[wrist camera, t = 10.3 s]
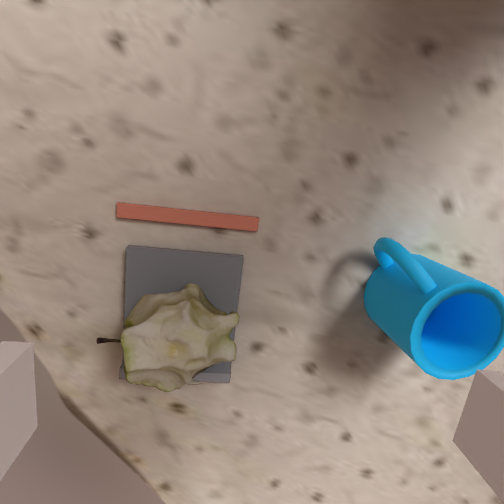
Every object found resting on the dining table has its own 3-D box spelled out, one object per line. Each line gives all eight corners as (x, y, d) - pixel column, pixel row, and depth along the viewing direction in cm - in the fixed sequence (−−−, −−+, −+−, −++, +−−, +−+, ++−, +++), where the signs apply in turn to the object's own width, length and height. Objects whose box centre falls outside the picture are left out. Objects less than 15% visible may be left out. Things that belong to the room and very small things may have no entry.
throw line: (117, 202, 28) (116, 202, 28) (258, 217, 30) (258, 217, 30) (117, 216, 28) (116, 217, 28) (257, 230, 30) (257, 231, 30)
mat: (128, 245, 29) (123, 250, 27) (242, 255, 31) (244, 260, 29) (124, 367, 32) (119, 378, 30) (229, 371, 33) (229, 383, 32)
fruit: (117, 339, 31) (70, 362, 23) (181, 260, 32) (158, 256, 24) (194, 403, 31) (174, 449, 23) (258, 322, 31) (260, 340, 23)
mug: (455, 299, 34) (527, 339, 26) (389, 345, 35) (440, 398, 27) (399, 204, 31) (461, 217, 23) (327, 257, 32) (364, 287, 24)
